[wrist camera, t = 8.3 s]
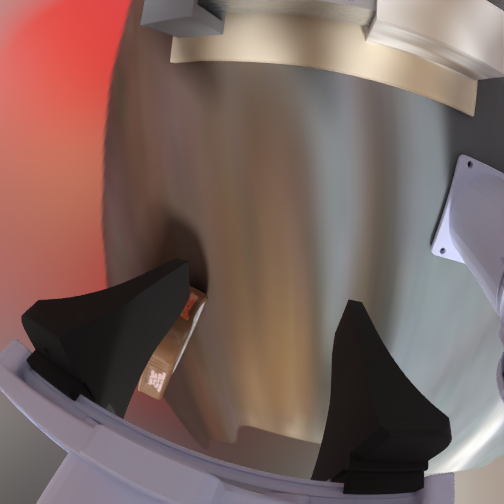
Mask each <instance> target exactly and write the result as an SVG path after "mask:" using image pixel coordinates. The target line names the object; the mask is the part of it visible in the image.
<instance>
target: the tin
mask: <svg viewBox="0 0 504 504" xmlns="http://www.w3.org/2000/svg"><path fill="white" fill-rule="evenodd" d="M207 299H208V297H207V295H206V294H204V293H203V292H201V291H199V290H197V289H195V288H193V287H191V286H190V298H189V300H188V302H187V304H186V306H185V307H184V309H183V311H182V313H181V315H180V316H179V317H178V319H177V320H176V322H175V323H174V324H173V326H172V327H171V329H170V330H169V331H168V333H167V334H166V335H165V337H164V338H163V340H162V341H161V342H160V344H159V345H158V347H157V348H156V350H155V351H154V353H153V354H152V356H151V358H150V360H149V362H148V364H147V365H146V367H145V369H144V371H143V373H142V375H141V377H140V381H139V385H138V391H142V392H144V393H146V394H148V395H150V396H152V397H153V398H156V399H161V398H162V396H163V394H164V391H165V389H166V386H167V384H168V382H169V380H170V377H171V375H172V373H173V372H174V371H175V369H176V367H177V365H178V363H179V361H180V359H181V356H182V354H183V352H184V350H185V348H186V346H187V344H188V341H189V339H190V337H191V335H192V333H193V331H194V329H195V327H196V325H197V322H198V320H199V318H200V316H201V313H202V311H203V309H204V306H205V304H206V302H207Z"/></svg>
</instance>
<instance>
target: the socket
mask: <svg viewBox="0 0 504 504" xmlns="http://www.w3.org/2000/svg"><path fill="white" fill-rule="evenodd" d="M197 2H198V0H145V2H144V7H143V13H142V18H141V24H140V25H141V26H144V27H147V28H151V29H154V30H157V31H160V32H163V33H166V34H169V35H172V36H174V37H177V38H184V37H195V36H209V35H223V31H224V23H225V16H226V14H211V13H210V12H208V11H207V10H205V9H204V8H202V7H201V6H199V5H197Z"/></svg>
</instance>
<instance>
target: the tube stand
mask: <svg viewBox="0 0 504 504" xmlns="http://www.w3.org/2000/svg"><path fill="white" fill-rule="evenodd" d="M198 61H246V62H264V63H276V64H286V65H295V66H303V67H310V68H316V69H322V70H328V71H333V72H339V73H343V74H348V75H353V76H357V77H361V78H365V79H369V80H373V81H377V82H381V83H384V84H388V85H391V86H394V87H398V88H401V89H404V90H407V91H410V92H413V93H416V94H419V95H421V96H424V97H427V98H429V99H432V100H435V101H437V102H440V103H442V104H444V105H447V106H449V107H451V108H454V109H456V110H458V111H460V112H463V113H465V114H467V115H469V116H474V112H475V104H476V94H477V83H478V80H482V79H490V78H498V77H504V11H503V10H501V9H500V8H498V7H496V6H495V5H493V4H492V3H490V2H488V1H487V0H376V15H375V17H374V19H373V22H372V24H371V26H370V27H367V26H363V25H358V24H354V23H349V22H344V21H338V20H332V19H326V18H319V17H311V16H302V15H292V14H276V13H226V16H225V23H224V31H223V35H209V36H195V37H184V38H177V37H174V36H173V42H172V50H171V58H170V62H172V63H180V62H198Z"/></svg>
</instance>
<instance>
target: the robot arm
mask: <svg viewBox="0 0 504 504" xmlns="http://www.w3.org/2000/svg"><path fill="white" fill-rule="evenodd" d="M469 161H470V162H471V165H470V166H469V167H468V162H469ZM442 248H444V250H443V251H442V252H440V249H442ZM431 251H432V253H433V254H434V255H437V256H441V257H444V258H448V259H451V260H455V261H458V262H462V263H465V264H466V265H467V266H468V268H469V269H470V271H471V272H472V274H473V275H474V277H475V278H476V280H477V281H478V283H479V284H480V286H481V287H482V289H483V291H484V292H485V294H486V296H487V297H488V299H489V301H490V302H491V304H492V306H493V308H494V309H495V311H496V313H497V315H498V317H499V318H500V321H501V329H500V332H499V337H500V339H501V341H502V343H503V346H504V173H502V172H500V171H498V170H496V169H494V168H492V167H490V166H488V165H486V164H484V163H482V162H480V161H478V160H475V159H473V158H471V157H469V156H467V155H463V154H462V155H460V156H459V158H458V161H457V165H456V169H455V173H454V177H453V181H452V185H451V188H450V192H449V195H448V198H447V202H446V205H445V208H444V211H443V214H442V217H441V220H440V223H439V226H438V229H437V232H436V235H435V237H434V240H433V243H432V245H431ZM189 298H190V285H189V262H188V261H185V260H181V259H175V260H172V261H170V262H168V263H166V264H164V265H162V266H159V267H157V268H155V269H153V270H151V271H149V272H147V273H145V274H143V275H140V276H138V277H136V278H133V279H131V280H129V281H126V282H124V283H122V284H119V285H116V286H114V287H111V288H107V289H104V290H101V291H98V292H94V293H89V294H85V295H81V296H75V297H70V298H62V299H49V300H38V301H37V302H36V303H35V304H34V305H33V306H32V307H30V308H29V309H28V310H27V311H26V312H25V313H24V314H23V315H22V324H23V327H24V329H25V331H26V333H27V335H28V337H29V338H30V340H31V342H32V344H33V346H34V347H35V349H36V350H35V351H34V352H33V353H31V352H30V350H29V349H28V348H27V347H25V346H24V345H23V344H22V343H21V342H20V341H19V340H18V339H14V340H13V341H12V342H11V343H10V344H9V345H8V346H7V347H6V348H5V349H4V350H3V351H2V352H1V353H0V389H1V390H2V391H3V393H4V394H5V395H6V396H7V397H8V398H9V399H10V401H11V402H12V403H13V404H14V405H15V406H16V407H17V408H18V409H19V410H20V411H21V412H22V413H23V414H24V415H25V416H26V417H27V418H28V419H29V420H30V421H31V422H33V423H34V424H35V425H36V426H37V427H38V428H39V429H40V430H41V431H42V432H44V433H45V434H46V435H47V436H48V437H49V438H51V439H52V440H53V441H54V442H56V443H57V444H58V445H59V446H60V447H62V448H63V449H64V450H66V451H67V452H68V455H67V456H66V458H65V460H64V461H63V462H62V464H61V466H60V467H59V469H58V470H57V472H56V473H55V475H54V476H53V478H52V479H51V481H50V483H49V484H48V486H47V487H46V489H45V490H44V492H43V494H42V495H41V497H40V498H39V500H38V502H37V503H36V504H454V473H453V472H451V473H445V474H438V475H431V476H427V477H424V471H426V470H427V469H428V460H430V459H431V458H433V457H435V456H436V455H438V454H439V453H440V452H442V451H443V450H444V449H446V448H447V447H448V445H449V444H450V443H451V440H452V436H451V428H450V421H449V417H447V416H446V415H445V414H444V413H442V412H441V411H440V410H439V409H438V408H436V407H435V406H434V405H433V404H432V403H431V402H430V401H428V400H427V399H426V398H425V397H424V396H423V395H422V394H421V393H420V392H419V391H418V389H417V388H416V387H415V386H414V385H413V384H412V383H411V382H410V380H409V379H408V378H407V377H406V376H405V374H404V373H403V372H402V371H401V369H400V368H399V366H398V365H397V364H396V362H395V361H394V359H393V358H392V356H391V355H390V353H389V352H388V350H387V348H386V347H385V345H384V344H383V342H382V340H381V338H380V336H379V334H378V333H377V331H376V329H375V327H374V325H373V323H372V321H371V319H370V317H369V315H368V313H367V311H366V309H365V307H364V305H363V303H362V302H358V301H354V300H348V303H347V305H346V308H345V310H344V313H343V315H342V318H341V320H340V323H339V325H338V328H337V330H336V332H335V338H334V344H333V352H332V376H331V397H330V405H329V411H328V416H327V421H326V426H325V431H324V435H323V439H322V443H321V447H320V451H319V455H318V458H317V462H316V465H315V468H314V471H313V474H312V477H311V480H307V479H301V478H294V477H288V476H283V475H278V474H273V473H268V472H263V471H259V470H255V469H250V468H247V467H243V466H239V465H236V464H232V463H228V462H225V461H222V460H218V459H216V458H212V457H209V456H206V455H203V454H201V453H198V452H195V451H192V450H190V449H187V448H184V447H182V446H179V445H177V444H174V443H172V442H169V441H167V440H165V439H163V438H160V437H158V436H156V435H154V434H152V433H149V432H147V431H145V430H143V429H141V428H139V427H137V426H135V425H133V424H131V423H129V422H127V421H125V420H123V418H124V415H125V412H126V410H127V407H128V404H129V402H130V399H131V397H132V395H133V393H134V390H135V388H136V386H137V383H138V381H139V379H140V377H141V375H142V373H143V371H144V369H145V367H146V365H147V364H148V362H149V360H150V358H151V356H152V354H153V353H154V351H155V350H156V348H157V347H158V345H159V344H160V342H161V341H162V340H163V338H164V337H165V335H166V334H167V333H168V331H169V330H170V329H171V327H172V326H173V324H174V323H175V322H176V320H177V319H178V317H179V316H180V315H181V313H182V311H183V309H184V307H185V306H186V304H187V302H188V300H189ZM497 385H498V390H499V393H500V396H501V398H502V401H503V403H504V352H503V354H502V356H501V358H500V360H499V363H498V367H497ZM227 483H228V484H227ZM230 484H231V485H230ZM233 485H235V486H233ZM236 486H239V487H242V488H246V489H251V490H255V491H259V492H264V493H263V495H262V494H259V493H255V492H252V491H249V490H245V489H242V488H239V487H236Z"/></svg>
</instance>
